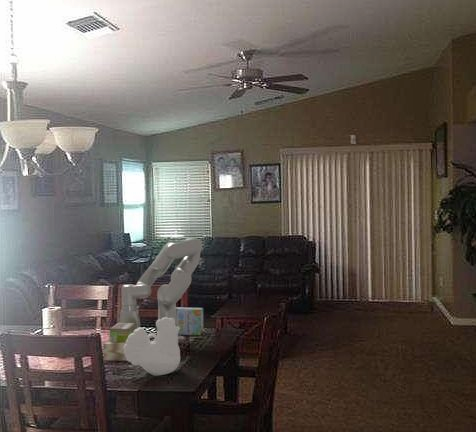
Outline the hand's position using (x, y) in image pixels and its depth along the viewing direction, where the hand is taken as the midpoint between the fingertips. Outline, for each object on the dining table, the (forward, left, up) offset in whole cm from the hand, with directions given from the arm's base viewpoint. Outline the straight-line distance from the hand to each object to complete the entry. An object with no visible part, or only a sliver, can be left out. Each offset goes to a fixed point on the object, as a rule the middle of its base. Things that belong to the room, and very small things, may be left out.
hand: (129, 342), depth 306 cm
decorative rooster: (-22, +48, -2) cm, 53 cm away
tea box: (-1, +17, -2) cm, 17 cm away
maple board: (0, +26, -2) cm, 26 cm away
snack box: (-25, -30, -2) cm, 39 cm away
